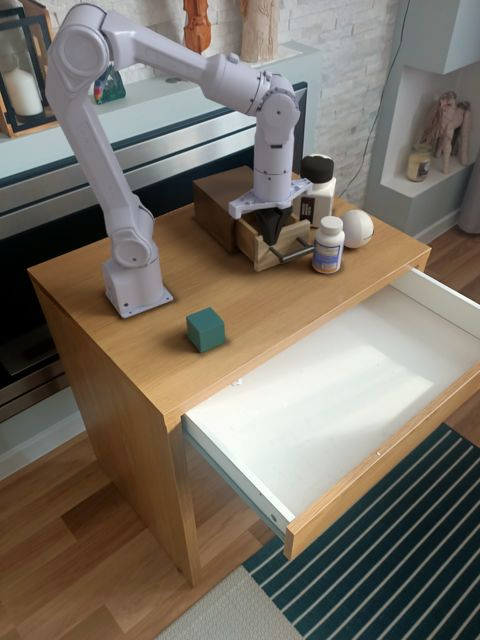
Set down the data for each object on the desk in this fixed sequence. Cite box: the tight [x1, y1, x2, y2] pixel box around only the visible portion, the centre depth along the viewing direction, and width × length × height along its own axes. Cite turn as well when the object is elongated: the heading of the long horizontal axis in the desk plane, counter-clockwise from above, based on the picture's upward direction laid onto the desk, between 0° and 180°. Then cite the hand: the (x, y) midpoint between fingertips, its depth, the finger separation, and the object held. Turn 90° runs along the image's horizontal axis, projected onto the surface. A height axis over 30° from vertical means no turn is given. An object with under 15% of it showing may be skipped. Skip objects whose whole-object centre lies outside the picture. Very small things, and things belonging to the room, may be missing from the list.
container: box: [292, 153, 337, 229], centre depth 112 cm, size 8×8×13 cm
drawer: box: [234, 211, 315, 273], centre depth 104 cm, size 18×11×7 cm, turn 33°
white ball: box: [339, 209, 375, 249], centre depth 108 cm, size 10×7×7 cm
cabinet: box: [192, 165, 254, 254], centre depth 111 cm, size 15×13×9 cm
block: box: [185, 306, 226, 354], centre depth 89 cm, size 4×4×4 cm
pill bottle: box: [311, 215, 345, 275], centre depth 102 cm, size 5×5×10 cm
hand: (269, 242), depth 92 cm, fingers closed
